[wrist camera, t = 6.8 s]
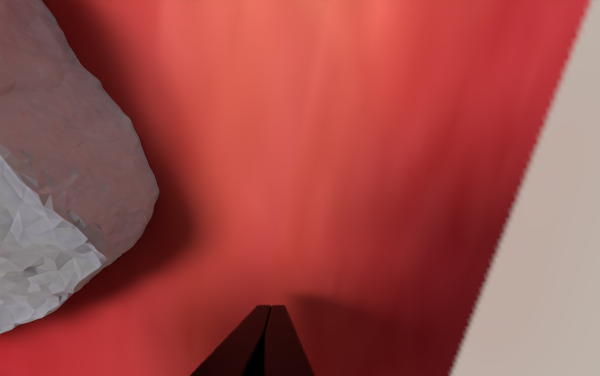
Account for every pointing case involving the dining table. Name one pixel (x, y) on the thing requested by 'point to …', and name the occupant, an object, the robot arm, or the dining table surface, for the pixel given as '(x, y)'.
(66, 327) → the dining table surface
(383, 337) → the dining table surface
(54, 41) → the stone block
